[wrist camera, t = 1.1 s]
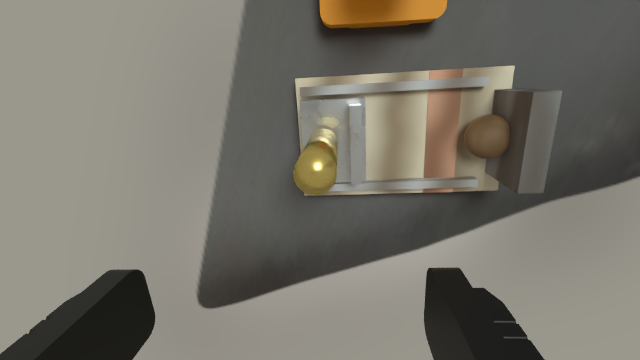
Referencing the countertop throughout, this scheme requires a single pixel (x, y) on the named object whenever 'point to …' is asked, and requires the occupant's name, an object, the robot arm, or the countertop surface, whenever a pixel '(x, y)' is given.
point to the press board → (446, 130)
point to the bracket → (379, 12)
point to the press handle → (331, 144)
